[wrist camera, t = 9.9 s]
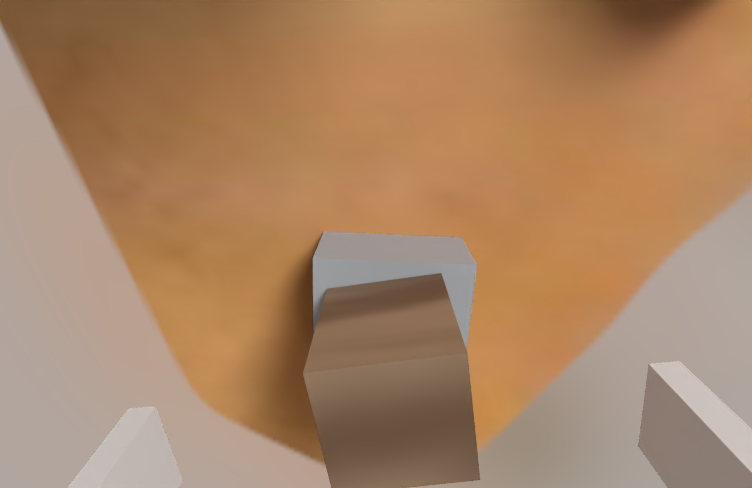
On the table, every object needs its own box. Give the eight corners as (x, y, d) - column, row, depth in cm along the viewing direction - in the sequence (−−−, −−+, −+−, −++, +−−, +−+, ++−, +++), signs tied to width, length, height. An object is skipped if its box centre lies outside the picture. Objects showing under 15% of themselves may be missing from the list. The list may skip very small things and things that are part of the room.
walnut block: (326, 288, 19) (303, 373, 13) (441, 272, 18) (467, 352, 13) (346, 383, 20) (333, 495, 15) (452, 370, 20) (480, 479, 14)
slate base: (324, 229, 22) (312, 258, 18) (460, 235, 22) (477, 264, 18) (324, 347, 24) (313, 394, 21) (447, 353, 24) (459, 400, 21)
